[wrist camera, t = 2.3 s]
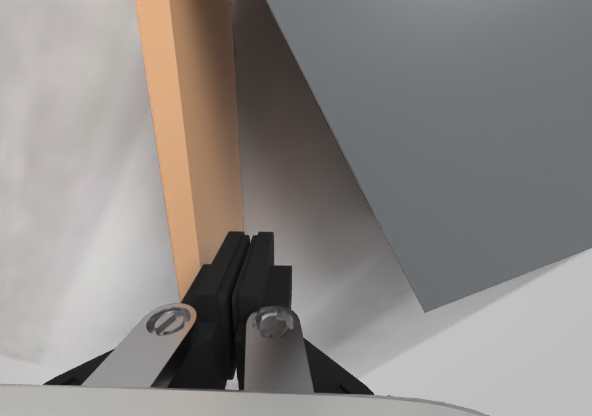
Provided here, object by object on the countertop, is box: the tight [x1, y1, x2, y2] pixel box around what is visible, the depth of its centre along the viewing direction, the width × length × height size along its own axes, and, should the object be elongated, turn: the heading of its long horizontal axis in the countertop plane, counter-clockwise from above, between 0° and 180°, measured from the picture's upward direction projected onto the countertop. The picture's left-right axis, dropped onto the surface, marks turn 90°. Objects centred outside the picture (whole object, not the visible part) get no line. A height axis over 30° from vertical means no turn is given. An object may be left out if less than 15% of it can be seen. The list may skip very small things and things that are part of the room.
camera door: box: [135, 0, 244, 303], centre depth 14 cm, size 2×16×8 cm, turn 179°
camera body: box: [265, 0, 592, 312], centre depth 12 cm, size 13×17×10 cm
